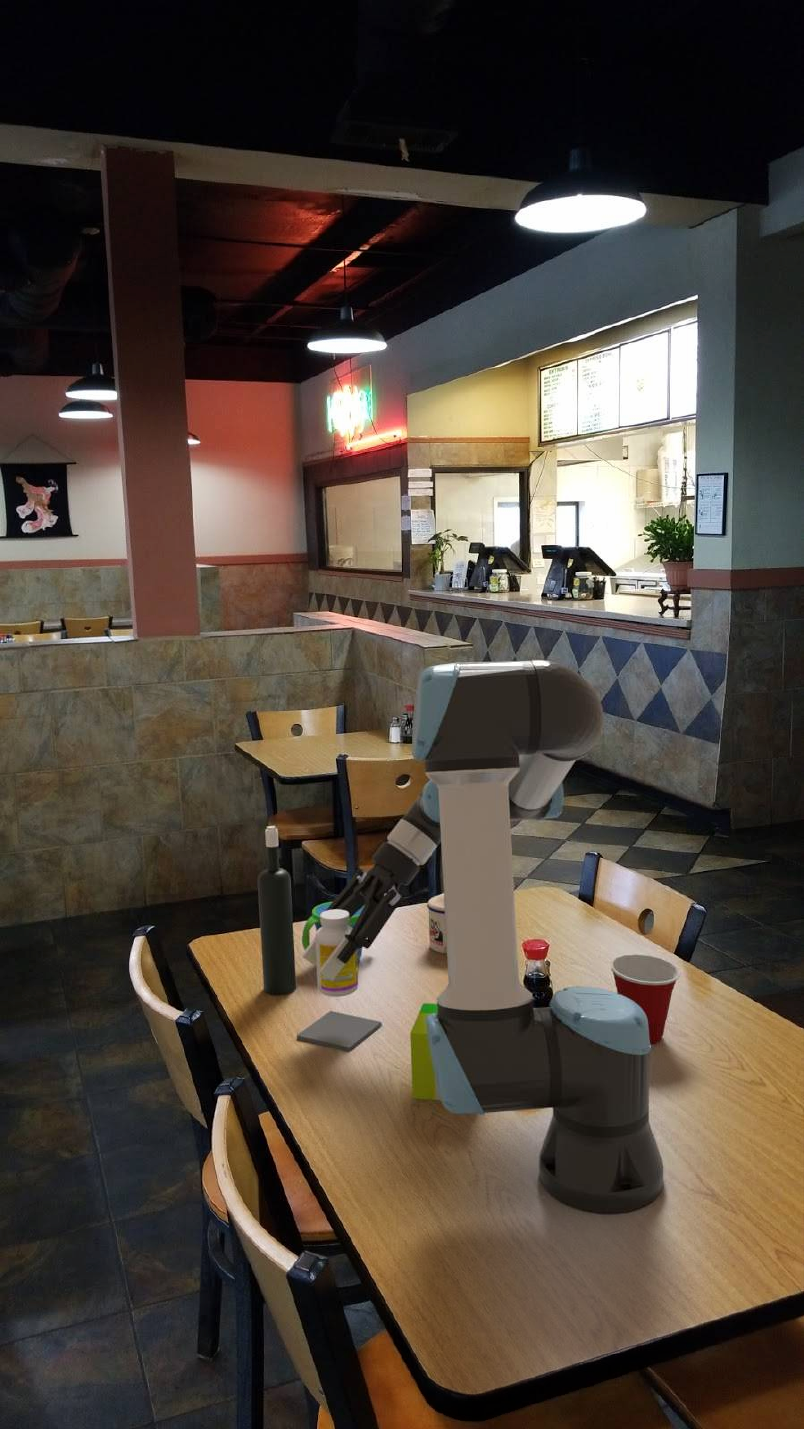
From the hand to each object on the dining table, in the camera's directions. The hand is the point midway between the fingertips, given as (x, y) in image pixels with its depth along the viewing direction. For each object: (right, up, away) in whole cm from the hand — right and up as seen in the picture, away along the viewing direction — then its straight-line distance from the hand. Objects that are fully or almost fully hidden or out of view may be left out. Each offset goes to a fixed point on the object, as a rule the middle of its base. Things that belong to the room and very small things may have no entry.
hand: (316, 968), depth 173 cm
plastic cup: (+52, -11, -2) cm, 53 cm away
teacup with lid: (+24, -5, +37) cm, 44 cm away
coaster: (+4, -11, +3) cm, 12 cm away
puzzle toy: (+21, -14, -15) cm, 29 cm away
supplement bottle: (+3, -4, +2) cm, 6 cm away
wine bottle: (-8, -9, +21) cm, 24 cm away
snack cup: (+2, -7, +33) cm, 34 cm away
